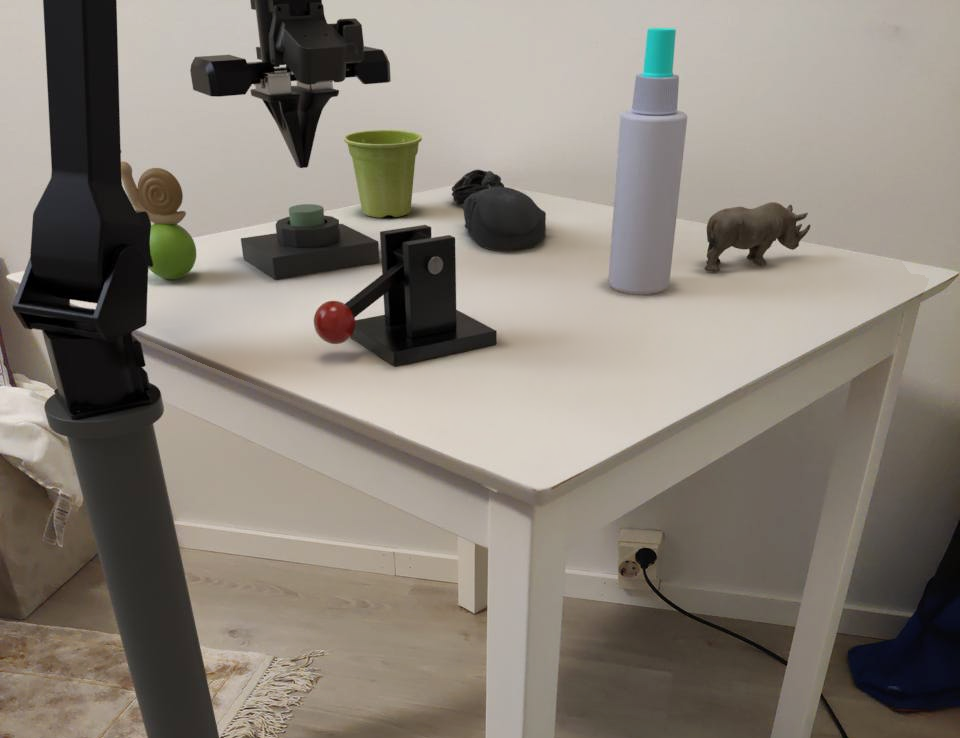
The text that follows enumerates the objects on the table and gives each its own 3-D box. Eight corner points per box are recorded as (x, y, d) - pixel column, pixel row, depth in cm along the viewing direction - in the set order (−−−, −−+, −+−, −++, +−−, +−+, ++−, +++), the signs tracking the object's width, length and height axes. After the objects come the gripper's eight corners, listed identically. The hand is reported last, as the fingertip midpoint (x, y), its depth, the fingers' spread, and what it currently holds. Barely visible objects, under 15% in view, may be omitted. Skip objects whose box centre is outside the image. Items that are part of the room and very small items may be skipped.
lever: (337, 357, 81) (316, 324, 78) (320, 345, 83) (299, 312, 81) (449, 269, 82) (432, 233, 80) (429, 259, 85) (412, 224, 82)
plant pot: (438, 210, 125) (436, 134, 120) (394, 225, 119) (390, 146, 113) (379, 201, 129) (375, 127, 124) (334, 215, 123) (327, 138, 117)
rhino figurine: (818, 260, 106) (830, 200, 103) (712, 275, 102) (720, 213, 98) (794, 251, 109) (804, 192, 106) (690, 265, 105) (697, 205, 101)
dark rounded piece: (474, 255, 108) (474, 202, 105) (441, 191, 134) (440, 146, 130) (559, 252, 109) (561, 198, 106) (510, 188, 135) (510, 144, 132)
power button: (298, 231, 102) (297, 213, 101) (285, 224, 105) (283, 206, 104) (330, 226, 104) (328, 209, 103) (316, 219, 106) (314, 202, 105)
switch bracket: (394, 366, 81) (388, 255, 76) (347, 335, 87) (338, 230, 82) (496, 344, 85) (497, 237, 80) (444, 315, 91) (442, 215, 86)
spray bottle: (626, 274, 102) (646, 25, 89) (679, 284, 99) (708, 28, 86) (597, 288, 98) (614, 29, 85) (651, 299, 95) (677, 33, 82)
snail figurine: (149, 269, 104) (125, 143, 97) (208, 271, 103) (187, 145, 96) (128, 284, 99) (100, 154, 92) (188, 286, 99) (166, 155, 92)
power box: (275, 280, 101) (270, 239, 98) (243, 259, 107) (237, 220, 104) (379, 262, 106) (377, 223, 103) (343, 243, 112) (340, 206, 110)
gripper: (217, -8, 82) (244, 193, 91) (413, -15, 90) (420, 170, 99) (175, -14, 90) (204, 172, 99) (359, -20, 98) (370, 152, 107)
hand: (302, 167), depth 101 cm, fingers closed
